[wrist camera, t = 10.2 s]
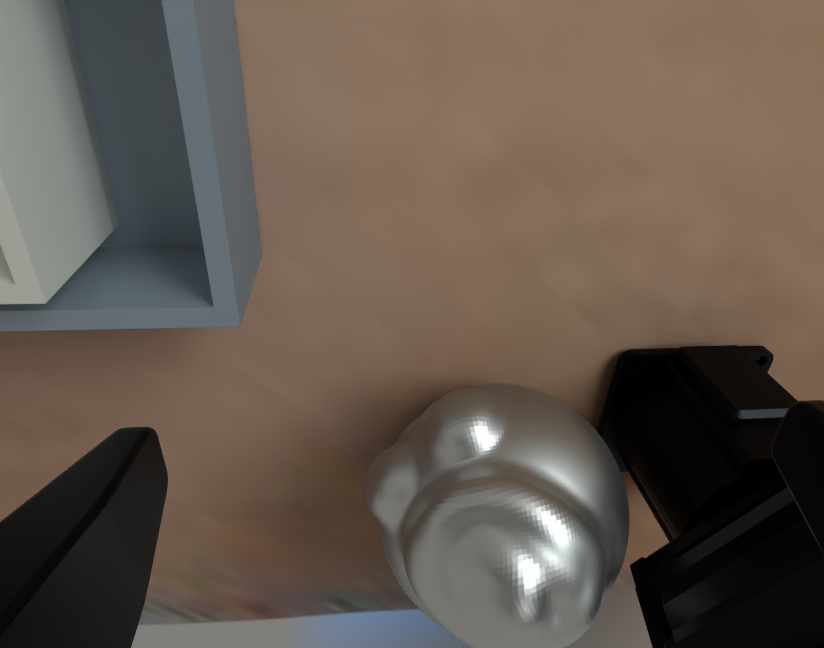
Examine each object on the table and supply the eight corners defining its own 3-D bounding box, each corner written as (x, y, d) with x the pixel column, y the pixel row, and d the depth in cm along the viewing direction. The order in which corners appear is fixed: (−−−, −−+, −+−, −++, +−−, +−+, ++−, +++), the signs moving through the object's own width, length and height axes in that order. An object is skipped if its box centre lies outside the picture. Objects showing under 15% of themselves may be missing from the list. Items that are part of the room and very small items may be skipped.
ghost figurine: (583, 309, 21) (740, 523, 13) (569, 480, 26) (676, 716, 18) (349, 340, 21) (352, 583, 13) (380, 508, 26) (397, 762, 18)
